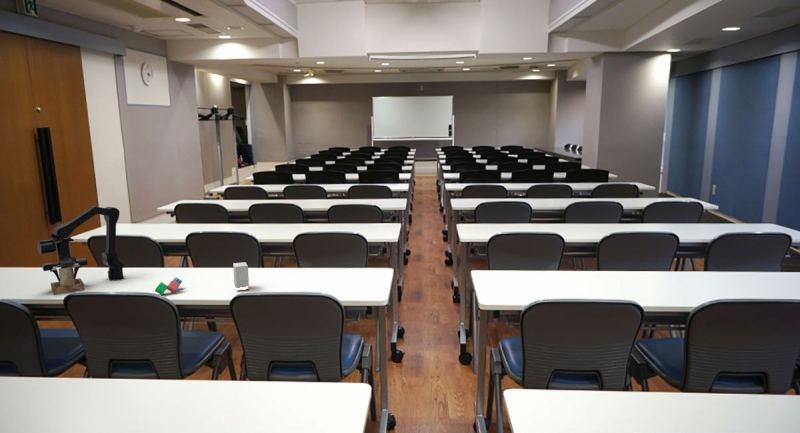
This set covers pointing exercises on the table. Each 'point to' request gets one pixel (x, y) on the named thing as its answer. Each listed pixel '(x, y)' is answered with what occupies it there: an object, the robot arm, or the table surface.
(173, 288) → the building blocks
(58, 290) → the brown square frame
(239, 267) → the small box
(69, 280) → the box
